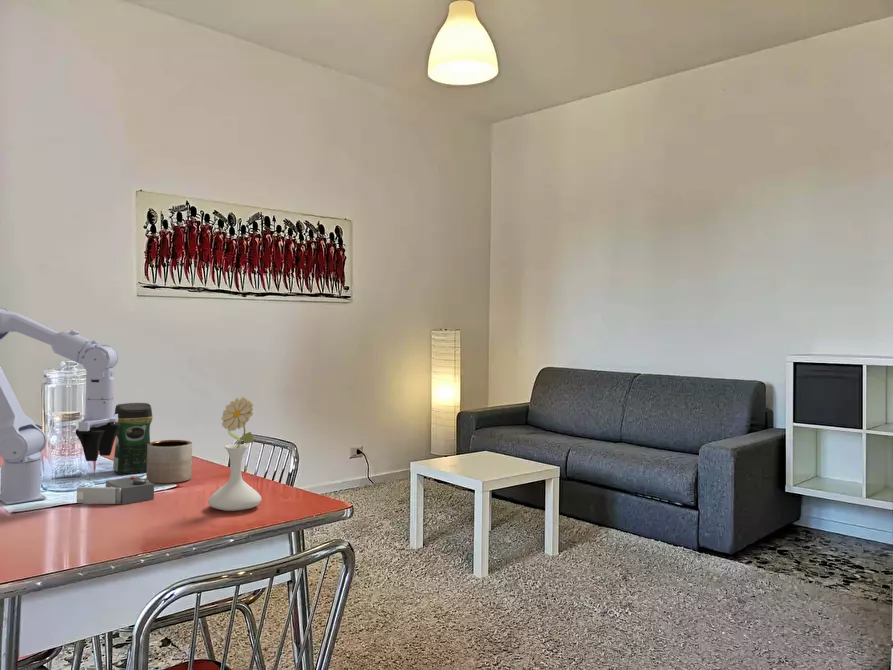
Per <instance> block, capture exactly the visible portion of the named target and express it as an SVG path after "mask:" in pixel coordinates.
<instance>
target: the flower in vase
mask: <svg viewBox="0 0 893 670" xmlns="http://www.w3.org/2000/svg"><path fill="white" fill-rule="evenodd" d="M253 407H254V404H253V403H252V401H250V400H249V399H248V398H246V397H245V396H242V397H241V398H238V397H236V398H235V400H231V401H230V404H226V406H225V409H224V410H223V412H222V417H221V421H222V423H221V426H222V428H224V429H227V433H228V435H230V436H231V437H232V438H234V439H236V440H237V441H239V442H238V443H236V444H235V443H233V444H227V445H225V446H224V449H226V451H227V453H228V455H229V462H230V475H229V479H228V480H227V481H226V483H224V484H223V485H222V486H221V487H220V488H218V489H217V490H216V491H214V493H213V494H212V495H211V496H209V499H208V501H207V503H208V504H209V506H210V507H211V508H214V509H215V510H218V511H219V510H220V511H233V512H235V511H243V510H244V511H245V510H248V509H253V508H254V507H256V506H258V505H259V504H261V502H262V500H263V499H262V497H261V495H260V493H259V492H258V491H257V490H255V489H254V488H253V487H252V486H250V485H249V484H248V483H247V482H245V481H244V479H243V477H242V464H243V463H242V461H243V457H244V454H245V452H246V450H248V447H249V445H248V444H251V443H255V439H254V437H253V436H254V435H253V434H252V433H253V432H251V431H249V432H247V433H246V427H245V426H246V424H247V422H249V421H250V418H251V417H252V416H253V411H254V408H253ZM241 428H243V434H242V436H241V438H240V436H238V435H237V434H235V433H233V432H232V431H236V430H237V429H238V430H240V429H241ZM242 441H243V444H241V443H242Z"/></svg>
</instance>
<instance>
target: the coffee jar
mask: <svg viewBox="0 0 893 670" xmlns="http://www.w3.org/2000/svg"><path fill="white" fill-rule="evenodd" d="M152 410H153V409H152V405H151V404H150V403H146V402H129V403H127V402H126V403H118V404H116V406H115V409H114V414H118V422H114V424H121V428H120V429H119V431H118V433H117V435H116V437H115V447H114V454H113V455H114V456H113V467H112V469H113V472H114V473H115V474H121V475H123V474H125V473H131V474H139V473H138V472H140V473H144V472H146V473H147V447H148V444H149V443H151V435H150V433H151V431H150V429H151V428H150V427H151V424H152V422H153V418H154V417H153V411H152Z"/></svg>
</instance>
